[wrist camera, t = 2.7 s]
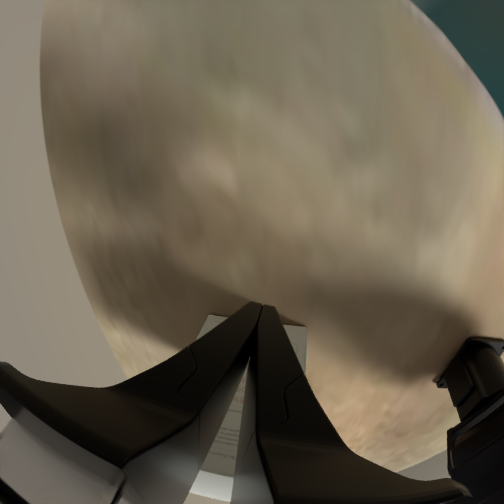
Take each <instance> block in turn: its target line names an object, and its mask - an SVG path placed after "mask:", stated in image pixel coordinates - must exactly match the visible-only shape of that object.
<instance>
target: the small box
mask: <svg viewBox="0 0 504 504" xmlns="http://www.w3.org/2000/svg"><path fill="white" fill-rule="evenodd" d="M227 318H228V317H222V316H215V315H208V317H207V319H206V321H205V323H204V325H203V327H202V329H201V331H200V333H199V335H198V336H197V338H196V340H197V339H199V338H200V337H202V336H203V335H204V334H206V333H207V332H209V331H210V330H212V329H213V328H214V327H216V326H217V325H219V324H220V323H221V322H223V321H224V320H225V319H227ZM283 326H284V328H285V330H286V333H287V335H288V337H289V339H290V342H291V344H292V346H293V349H294V351H295V353H296V355H297V358H298V360H299V362H300V364H301V367H302V369H303V371H304V375H305V376H306V361H307V327H301V326H291V325H283ZM196 340H195V341H196ZM249 359H250V358H249ZM248 363H249V362H248ZM247 368H248V365H247ZM247 368H246V370H245V373H244V375H243V377H242V380H241V382H240V384H239V387H238V389H237V391H236V393H235V396H234V398H233V400H232V402H231V405H230V407H229V409H228V411H227V413H226V416H225V418H224V420H223V422H222V424H221V427H220V429H219V431H218V433H217V435H216V437H215V440H214V442H213V444H212V446H211V448H210V450H209V452H208V454H207V456H206V458H205V461H204V463H203V465H202V467H201V469H200V471H199V473H198V475H197V477H196V479H195V481H194V483H193V485H192V487H191V489H190V491H189V492H190V493H193V494H197V495H201V496H205V497H209V498H213V499H218V500H222V501H228V502H231V494H232V487H233V479H234V472H235V464H236V456H237V448H238V440H239V432H240V424H241V416H242V408H243V400H244V392H245V384H246V375H247Z"/></svg>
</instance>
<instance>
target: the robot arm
mask: <svg viewBox="0 0 504 504" xmlns="http://www.w3.org/2000/svg"><path fill="white" fill-rule="evenodd" d="M503 352H504V341H500V340H491V339H482V338H474V337H470V338H468V339H467V340H466V341H465V343H464V345H463V346H462V348H461V349H460V351H459V352H458V354H457V355H456V357H455V358H454V360H453V361H452V362H451V364H450V365H449V367H448V368H447V369H446V371H445V372H444V373H443V375H442V376H441V377H440V379H439V380H438V381H437V383H436V385H437V387H438V388H448V391H449V393H450V396H451V399H452V402H453V405H454V407H456V408H457V412H458V415H459V418H460V421H461V422H460V423H459V424H458V425H456V426H455V427H453V428H450V429H449V430H447V455H448V472H449V475H450V476H451V478H452V479H451V478H443V479H437V480H431V481H421V480H415V479H410V478H407V477H405V476H402V475H400V474H397V473H395V472H393V471H390V470H388V469H386V468H384V467H382V466H379V465H377V464H375V463H373V462H371V461H369V460H367V459H365V458H363V457H361V456H359V455H357V454H355V453H354V452H353V451H351V450H350V449H349V448H348V447H347V445H346V444H345V443H344V442H343V440H342V439H341V437H340V436H339V434H338V433H337V431H336V429H335V428H334V426H333V425H332V423H331V422H330V420H329V418H328V417H327V415H326V414H325V412H324V411H323V409H322V407H321V405H320V404H319V402H318V400H317V399H316V397H315V395H314V393H313V391H312V389H311V387H310V385H309V383H308V380H307V378H306V376H305V375H304V371H303V369H302V367H301V364H300V362H299V360H298V358H297V355H296V353H295V351H294V349H293V346H292V344H291V342H290V339H289V337H288V335H287V333H286V330H285V328H284V326H283V323H282V321H281V319H280V317H279V314H278V312H277V310H276V308H275V307H274V306H269V305H263V306H262V304H261V303H256V302H252V301H251V302H249V303H247V304H246V305H245V306H243V307H242V308H241V309H239V310H238V311H236V312H235V313H234V314H232V315H231V316H230V317H228V318H227V319H225V320H224V321H223V322H221V323H220V324H219V325H217V326H216V327H214V328H213V329H212V330H210V331H209V332H207V333H206V334H204V335H203V336H202V337H200V338H199V339H197V340H196V341H195V342H193V343H192V344H190V345H189V347H186V348H184V349H183V350H181V351H180V352H178V353H177V354H175V355H174V356H172V357H171V358H169V359H167V360H166V361H164V362H162V363H160V364H158V365H156V366H154V367H152V368H150V369H148V370H146V371H144V372H142V373H140V374H138V375H136V376H134V377H132V378H130V379H128V380H126V381H124V382H121V383H119V384H116V385H113V386H110V387H104V388H94V387H84V386H75V385H66V384H59V383H51V382H45V381H40V380H36V379H33V378H30V377H28V376H26V375H24V374H22V373H21V372H19V371H18V370H17V369H16V368H14V367H13V366H12V365H10V364H9V363H6V362H0V403H1V404H2V406H3V407H4V409H5V410H6V411H7V412H8V414H9V415H10V416H11V417H12V419H11V420H10V421H9V422H8V424H7V425H6V426H5V427H4V429H3V430H2V431H1V433H0V504H183V503H184V501H185V499H186V497H187V495H188V493H189V491H190V489H191V487H192V485H193V483H194V481H195V479H196V477H197V475H198V473H199V471H200V469H201V467H202V465H203V463H204V461H205V458H206V456H207V454H208V452H209V450H210V448H211V446H212V444H213V442H214V440H215V437H216V435H217V433H218V431H219V429H220V427H221V424H222V422H223V420H224V418H225V416H226V413H227V411H228V409H229V407H230V405H231V402H232V400H233V398H234V396H235V393H236V391H237V389H238V387H239V384H240V382H241V380H242V377H243V375H244V373H245V370H246V368H247V365H248V368H247V375H246V384H245V392H244V400H243V408H242V416H241V424H240V432H239V440H238V448H237V456H236V464H235V472H234V479H233V487H232V494H231V502H230V504H504V363H503V361H502V359H501V358H500V356H501V354H502V353H503ZM249 358H250V359H249ZM248 362H249V363H248Z"/></svg>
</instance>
